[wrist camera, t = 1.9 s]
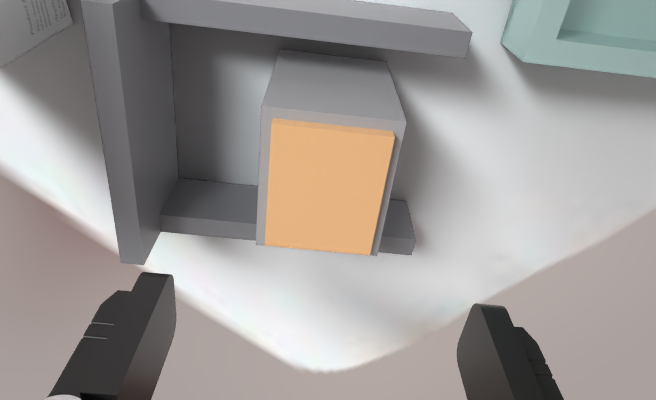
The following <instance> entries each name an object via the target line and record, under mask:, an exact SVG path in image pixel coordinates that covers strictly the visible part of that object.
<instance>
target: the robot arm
mask: <svg viewBox="0 0 656 400" xmlns="http://www.w3.org/2000/svg"><path fill="white" fill-rule="evenodd" d="M175 327H176V306H175V291H174V279H173V276H172V275H170V274H159V273H148V272H142V273H141V274H140V276H139V278H138V279H137V281H136V283H135V285H134V287H133V289H132V291H131V292H129V291H120V290H118V291H117V292H115V293H114V294H113V295H112V296H110V297H109V298H108V299H107V300H106V301H104V302H103V303H102V304H101V305H100V307H99V309H98V311H97V312H96V314H95V316H94V318H93V320H92V323H91V325H89V327H88V328H87V330H86V332H85V334H84V337H83V339H81V341H80V342H79V344H78V346H77V348H76V350H75V351H74V353H73V355H72V356H71V358H70V360H69V362H68V363H67V365H66V367H65V369H64V370H63V372H62V374H61V376H60V377H59V379H58V381H57V383H56V385H55V386H54V388H53V390H52V391H51V393H50V394H49V396H48V397H47V398H45V399H42V400H151V398H152V395H153V393H154V390H155V387H156V384H157V381H158V379H159V376H160V373H161V370H162V367H163V365H164V362H165V359H166V357H167V354H168V351H169V348H170V346H171V343H172V340H173V337H174V332H175ZM457 362H458V367H459V370H460V374H461V378H462V381H463V385H464V388H465V392H466V396H467V399H468V400H564V399H563V397H562V395H561V393H560V391H559V388H558V386H557V384H556V382H555V380H554V379H552V374H551V371H550V369H549V367H548V365H547V364H545V359H544V357H543V354H542V352H541V350H540V348H539V346H538V344H537V342H536V341H535V340H534V339H533V338H532V337H531V336H530V335H529V334H528V333H527V332H526V331H525V330H524V328H522V327H514V326H513V323H512V321H511V319H510V317H509V314H508V312H507V310H506V308H505V307H503V306H496V305H486V304H474V305H473V306H472V308H471V310H470V313H469V316H468V318H467V321H466V323H465V326H464V329H463V331H462V334H461V337H460V339H459V342H458V347H457Z"/></svg>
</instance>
